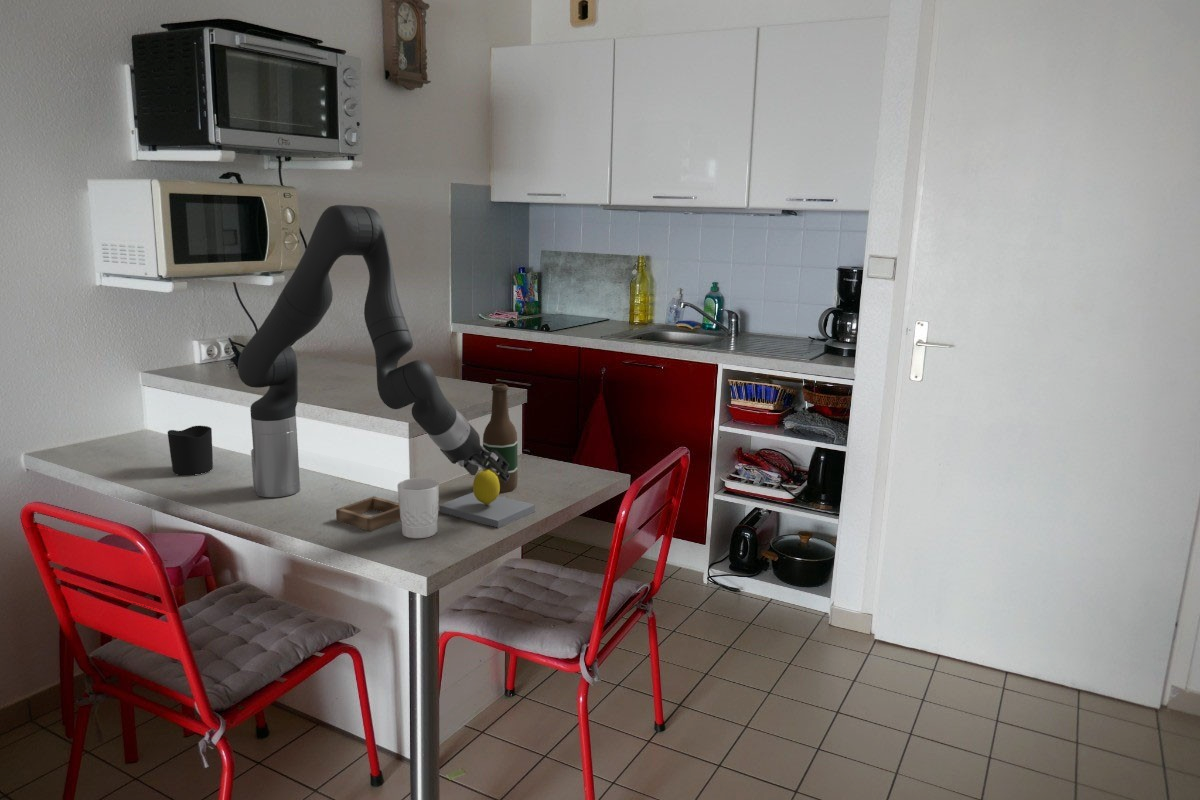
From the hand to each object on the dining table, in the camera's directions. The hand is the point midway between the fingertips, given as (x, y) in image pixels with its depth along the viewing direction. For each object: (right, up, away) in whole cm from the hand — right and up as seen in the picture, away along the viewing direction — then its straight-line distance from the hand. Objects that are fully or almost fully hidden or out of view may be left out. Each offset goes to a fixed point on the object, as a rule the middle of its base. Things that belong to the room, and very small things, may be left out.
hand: (491, 475), depth 184 cm
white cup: (-13, -10, -12) cm, 20 cm away
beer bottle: (0, -5, +16) cm, 17 cm away
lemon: (-1, -7, 0) cm, 7 cm away
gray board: (-1, -8, +1) cm, 8 cm away
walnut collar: (-24, -9, -5) cm, 26 cm away
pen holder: (-74, -1, +25) cm, 78 cm away
